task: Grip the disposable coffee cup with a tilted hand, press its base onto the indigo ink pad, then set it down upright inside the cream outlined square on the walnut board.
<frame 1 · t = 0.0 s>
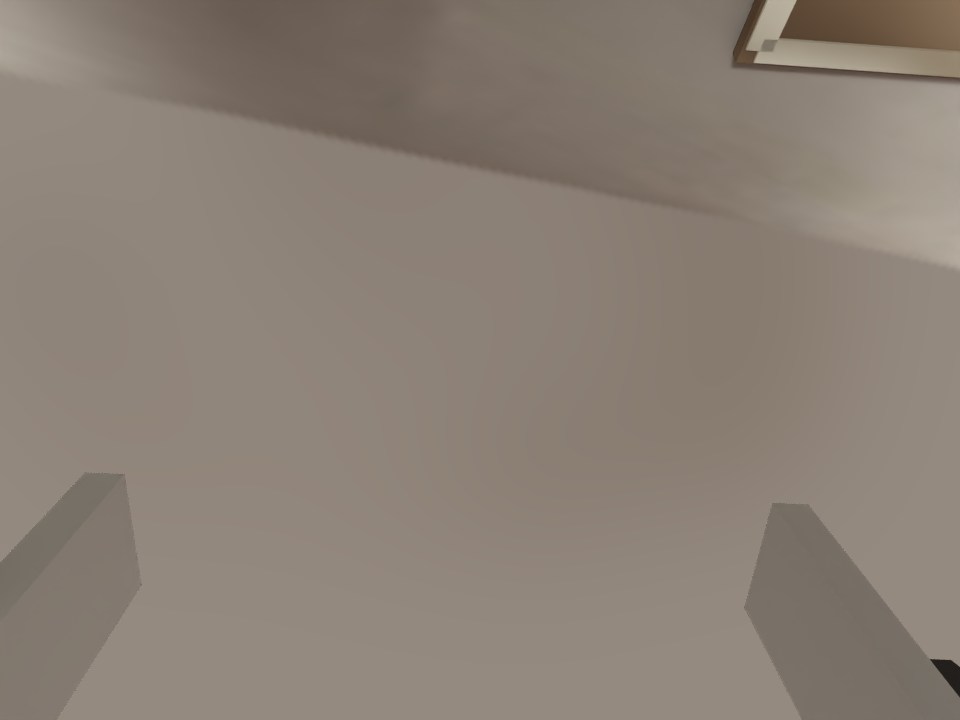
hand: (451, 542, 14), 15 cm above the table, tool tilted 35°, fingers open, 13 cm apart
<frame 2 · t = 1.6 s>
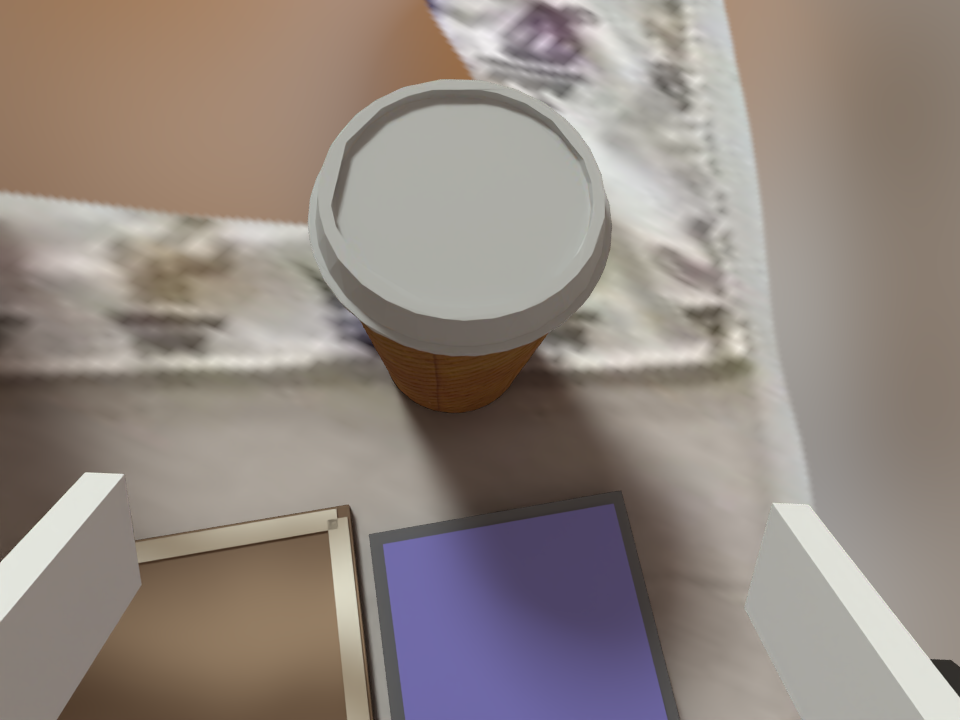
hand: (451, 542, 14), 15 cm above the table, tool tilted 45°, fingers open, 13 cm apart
disposable coffee cup: (453, 349, 32), on the table
marked board: (190, 714, 26), on the table
ink pad: (520, 648, 27), on the table
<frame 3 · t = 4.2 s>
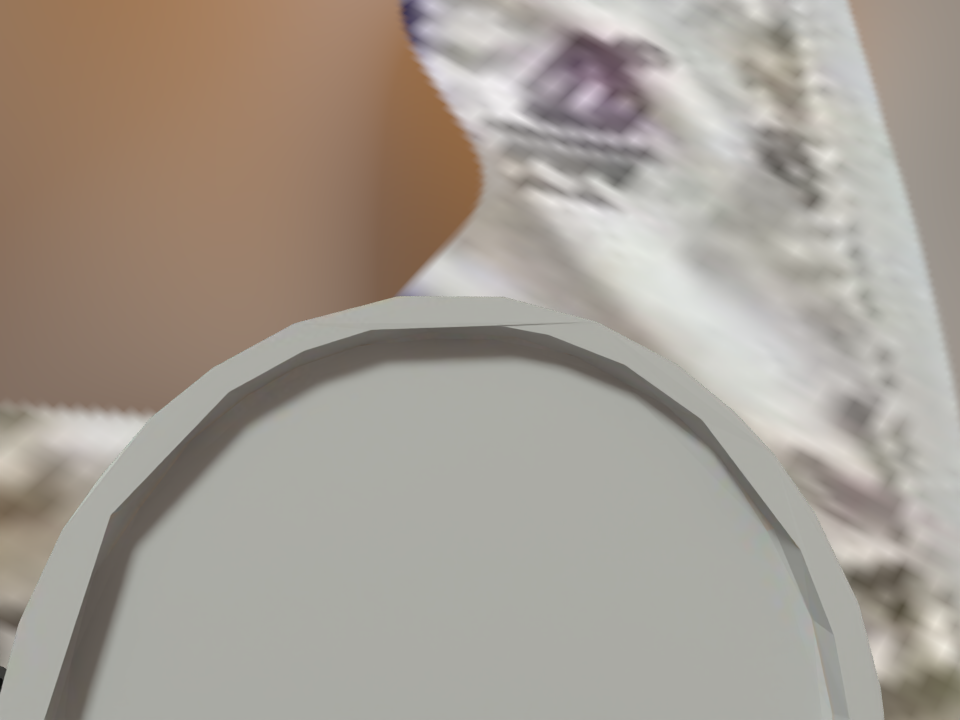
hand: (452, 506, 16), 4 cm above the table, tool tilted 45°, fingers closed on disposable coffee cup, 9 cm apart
disposable coffee cup: (443, 660, 18), on the table, touching gripper
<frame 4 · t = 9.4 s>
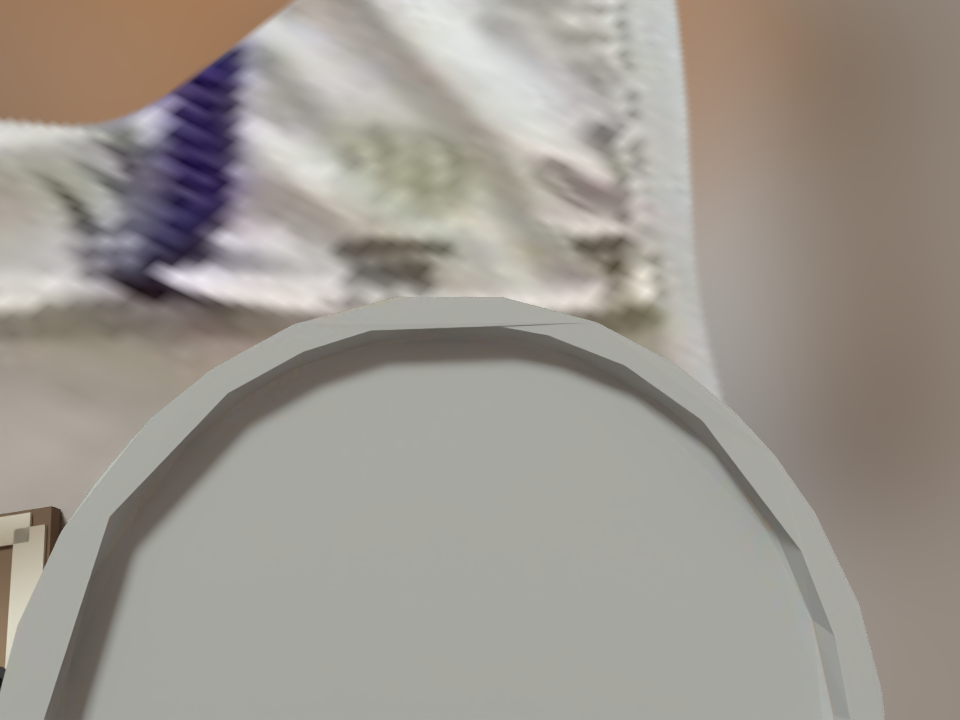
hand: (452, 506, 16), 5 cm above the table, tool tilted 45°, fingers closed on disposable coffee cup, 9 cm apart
disposable coffee cup: (443, 661, 18), point 1 cm above the table, touching gripper, ink pad
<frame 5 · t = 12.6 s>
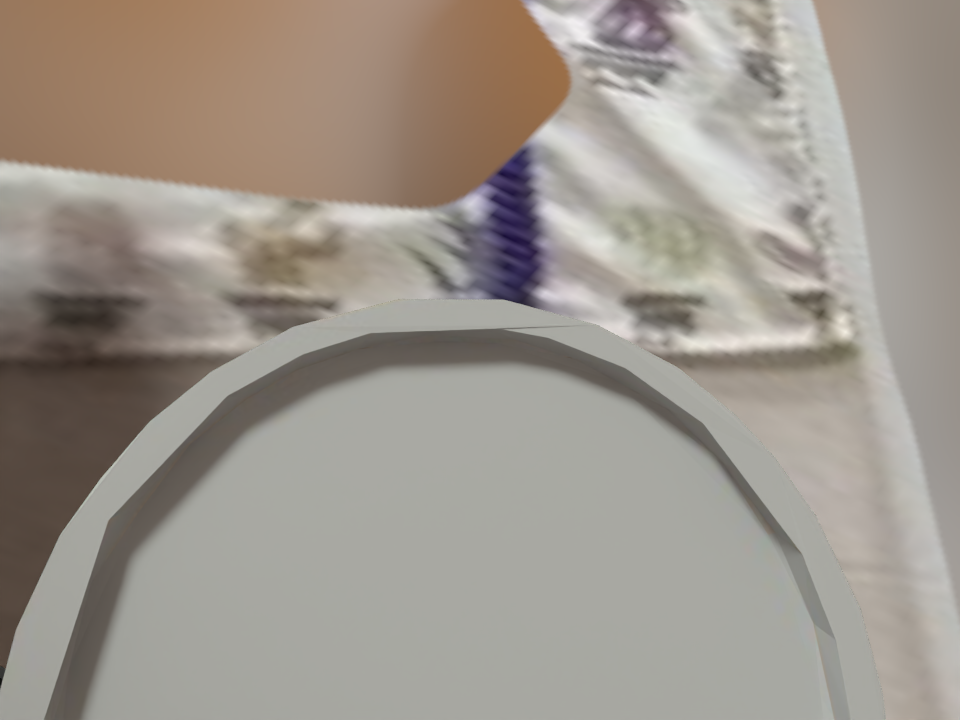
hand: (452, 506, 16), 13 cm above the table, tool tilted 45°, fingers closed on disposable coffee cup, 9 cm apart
disposable coffee cup: (443, 662, 18), point 9 cm above the table, touching gripper
when the fingers open (5 cm above the table, at t = 14.8 s): disposable coffee cup moves 4 cm, resting on marked board.
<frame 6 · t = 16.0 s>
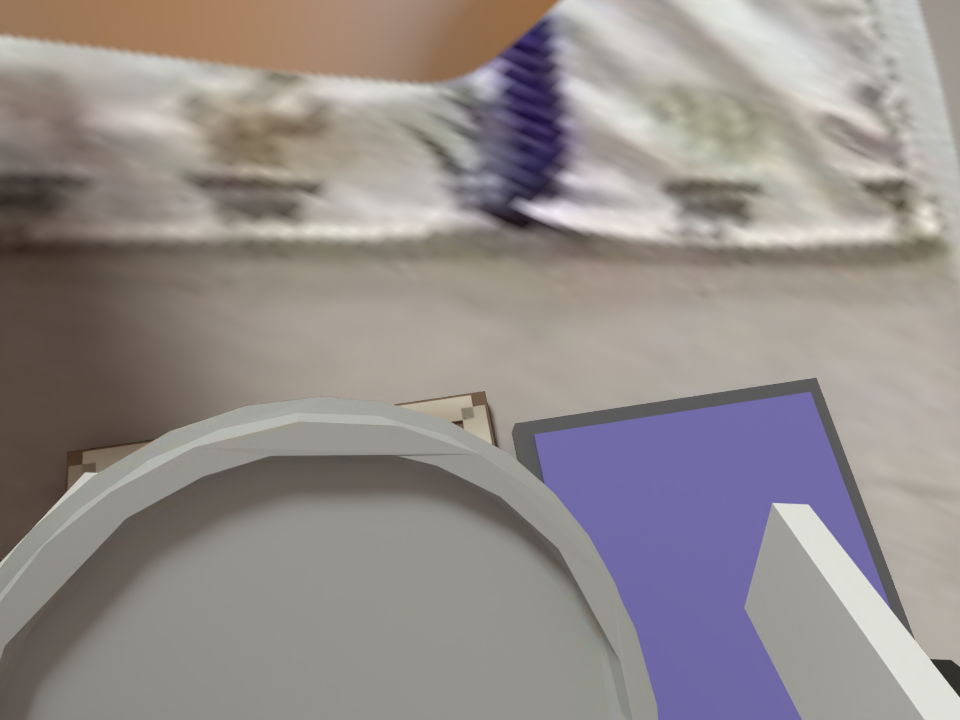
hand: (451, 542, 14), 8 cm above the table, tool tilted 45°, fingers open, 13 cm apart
disposable coffee cup: (301, 624, 20), point 1 cm above the table, touching marked board
marked board: (302, 638, 21), on the table
ink pad: (704, 565, 22), on the table
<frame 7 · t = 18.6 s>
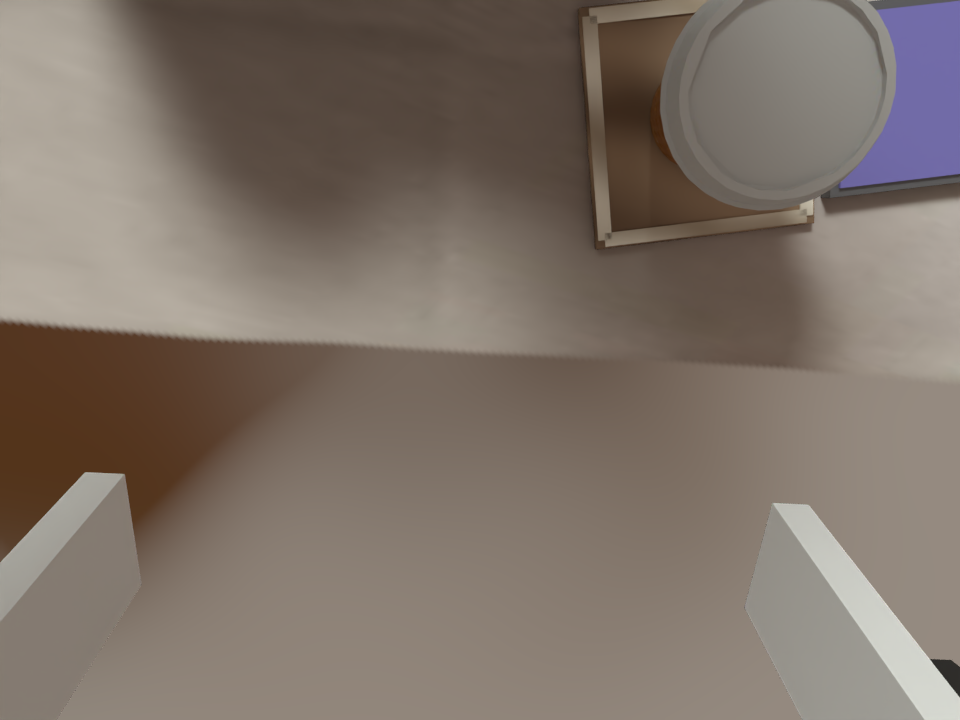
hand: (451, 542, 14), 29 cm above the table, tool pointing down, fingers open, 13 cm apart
disposable coffee cup: (704, 114, 40), point 1 cm above the table, touching marked board
marked board: (699, 121, 40), on the table
ink pad: (907, 96, 41), on the table
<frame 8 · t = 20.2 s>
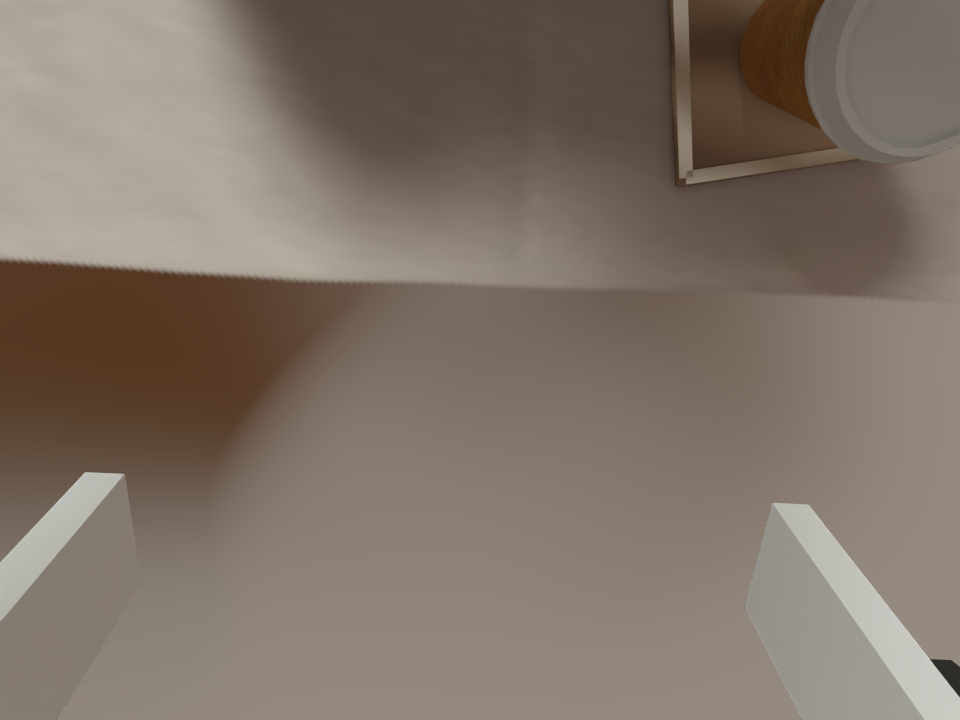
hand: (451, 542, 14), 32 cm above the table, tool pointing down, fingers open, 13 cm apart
disposable coffee cup: (791, 46, 40), point 1 cm above the table, touching marked board
marked board: (786, 53, 40), on the table
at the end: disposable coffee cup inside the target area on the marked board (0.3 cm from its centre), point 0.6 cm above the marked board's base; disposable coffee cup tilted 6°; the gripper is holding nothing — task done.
